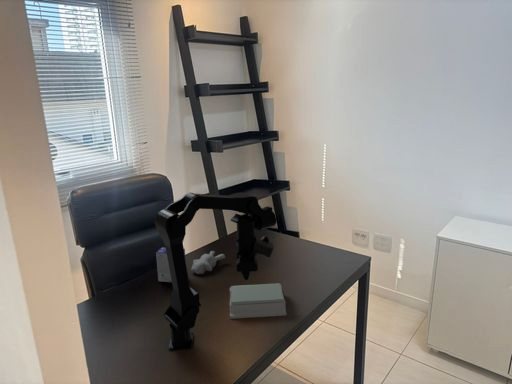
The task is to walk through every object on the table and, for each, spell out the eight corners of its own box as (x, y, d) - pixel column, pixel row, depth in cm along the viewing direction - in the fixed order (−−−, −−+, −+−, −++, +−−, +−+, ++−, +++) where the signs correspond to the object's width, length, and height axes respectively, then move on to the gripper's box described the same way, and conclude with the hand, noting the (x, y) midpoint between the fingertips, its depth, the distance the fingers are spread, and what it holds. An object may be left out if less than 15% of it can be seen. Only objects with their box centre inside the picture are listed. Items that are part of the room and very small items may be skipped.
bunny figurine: (184, 263, 148) (209, 246, 160) (186, 274, 150) (211, 256, 162) (202, 269, 143) (226, 250, 155) (204, 280, 145) (228, 261, 156)
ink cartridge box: (187, 276, 146) (185, 242, 142) (182, 283, 140) (179, 248, 137) (164, 274, 148) (160, 240, 144) (158, 281, 142) (154, 246, 139)
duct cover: (283, 301, 120) (283, 299, 120) (231, 304, 119) (231, 302, 119) (279, 285, 130) (279, 283, 130) (231, 288, 129) (230, 285, 129)
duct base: (286, 315, 119) (286, 305, 118) (230, 318, 118) (229, 309, 117) (280, 289, 135) (279, 280, 134) (230, 292, 134) (229, 283, 133)
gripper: (275, 244, 107) (274, 293, 111) (269, 223, 125) (268, 265, 129) (236, 245, 106) (236, 294, 110) (236, 223, 125) (236, 266, 128)
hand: (246, 279), depth 120 cm, fingers closed
